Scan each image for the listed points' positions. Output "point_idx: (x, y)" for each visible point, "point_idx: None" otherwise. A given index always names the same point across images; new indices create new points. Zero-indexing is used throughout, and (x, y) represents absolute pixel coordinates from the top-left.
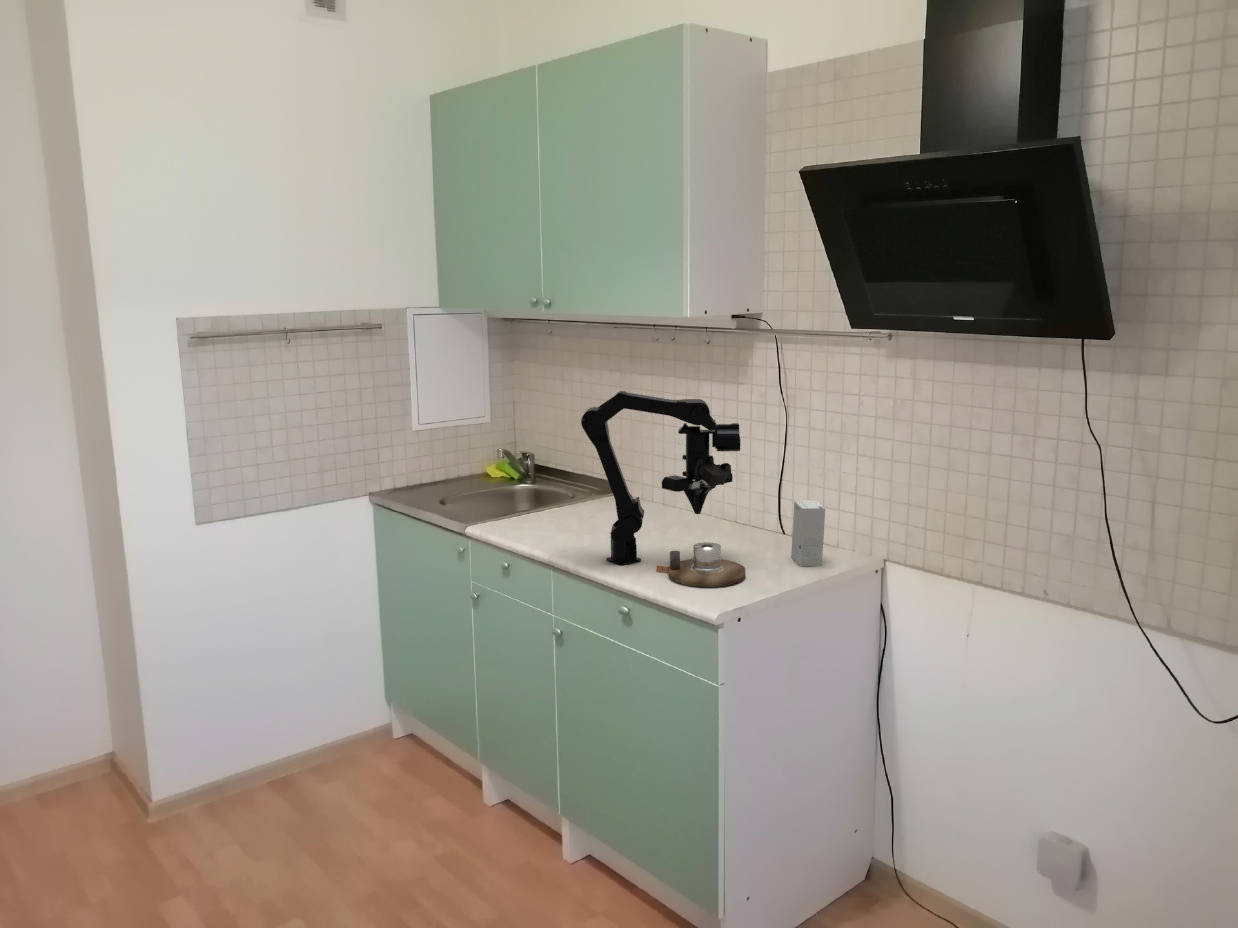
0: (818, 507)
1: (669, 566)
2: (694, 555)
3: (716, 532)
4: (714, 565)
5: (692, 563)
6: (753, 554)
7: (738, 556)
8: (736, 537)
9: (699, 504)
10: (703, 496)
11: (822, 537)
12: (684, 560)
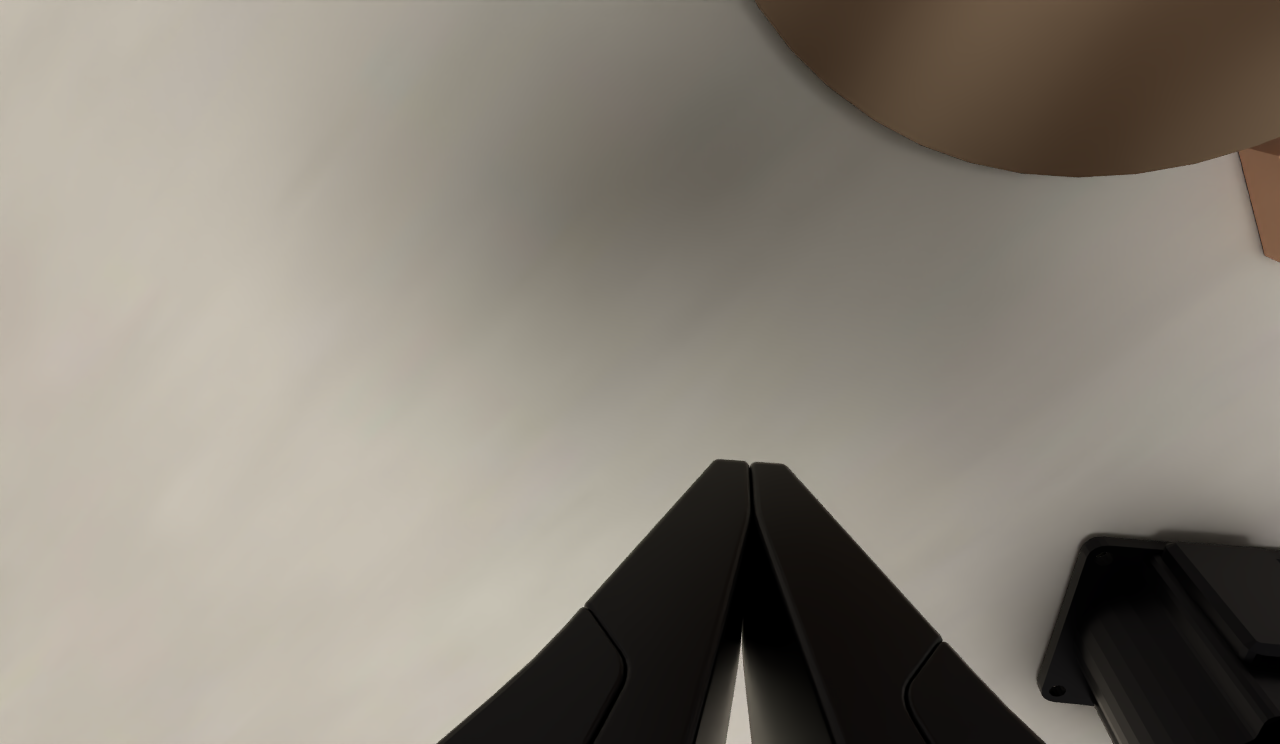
0: None
1: (1273, 154)
2: None
3: (143, 639)
4: None
5: (1086, 5)
6: (183, 33)
7: (343, 82)
8: (74, 484)
9: (795, 575)
10: (645, 736)
11: None
12: (1037, 164)
